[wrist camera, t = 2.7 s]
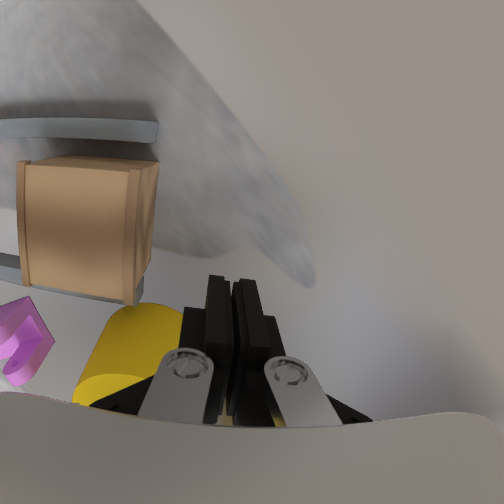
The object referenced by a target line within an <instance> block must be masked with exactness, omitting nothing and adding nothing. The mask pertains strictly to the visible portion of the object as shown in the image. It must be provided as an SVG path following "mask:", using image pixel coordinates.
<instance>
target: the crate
mask: <svg viewBox="0 0 504 504" xmlns="http://www.w3.org/2000/svg"><path fill="white" fill-rule="evenodd" d="M158 170H159V162H153V161H143V160H133V159H121V158H109V157H95V156H79V155H63V156H58V157H53V158H49V159H44V160H40V161H35V162H31V161H19V162H17V227H18V243H19V255H20V265H21V274H22V282H23V286H26V287H30V286H31V285H32V284H36V285H41V286H46V287H51V288H56V289H61V290H67V291H72V292H78V293H83V294H89V295H94V296H100V297H106V298H112V299H119V300H124V305H129V306H133V304H134V302H135V291H136V289H137V286H138V284H139V282H140V280H141V278H142V276H143V274H144V272H145V270H146V268H147V266H148V264H149V262H150V260H151V244H152V230H153V218H154V207H155V197H156V188H157V179H158Z"/></svg>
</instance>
